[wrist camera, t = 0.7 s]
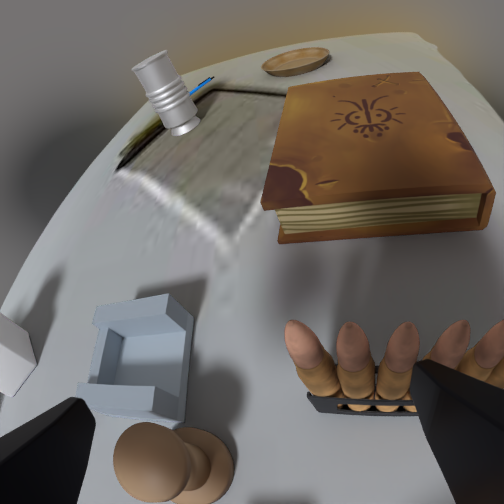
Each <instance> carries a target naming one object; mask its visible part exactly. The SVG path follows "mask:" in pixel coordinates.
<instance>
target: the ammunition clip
mask: <svg viewBox="0 0 504 504" xmlns="http://www.w3.org/2000/svg"><path fill="white" fill-rule="evenodd" d="M469 340H470V325H469V323H468V321H467V320H460V321H457V322H455V323H454V324H452V325H451V326H450V327H449V328H447V329H446V330H445V331H444V332H443V334H442V335H441V336H440V337H439V339H438V340H437V342H436V344H435V346H433V348H432V350H431V351H430V352H429V353H428V354H427V355H426V356H425V357H424V358H423V360H424V359H430V360H433V361H435V362H438V363H440V364H442V365H445V366H447V367H450V368H452V369H454V370H457V371H459V372H462V373H464V374H467V375H469V376H471V377H474V378H476V379H479V380H481V381H484V382H486V383H489V384H491V385H494V386H496V387H499V388H501V389H504V320H502V321H500V322H499V323H497V324H496V325H495V326H493V327H492V328H491V329H490V330H489V331H488V332H487V333H486V334H485V335H484V336H483V338H482V339H481V340H480V341H479V342H478V343H477V344H476V345H475V346H474V347H473V348H471V349H469V350H468V351H467V352H466V349H467V347H468V344H469ZM285 343H286V346H287V349H288V351H289V354H290V356H291V358H292V359H293V361H294V364H295V366H296V371H297V373H298V376H299V378H300V379H301V380H302V382H303V383H304V384H305V386H306V387H307V388H308V389H309V391H310V392H311V393H312V394H313V396H312V395H311V393H310V392H307V398H308V399H309V400H310V402H311V403H312V404H313V406H314V407H315V408H316V410H317V411H318V412H321V413H333V414H346V415H365V416H418V413H417V411H416V408H415V405H414V402H413V400H412V397H411V394H410V381H411V375H412V368H413V365H414V363H416V360H417V356H418V352H419V344H420V341H419V335H418V331H417V328H416V327H415V325H414V324H413V323H411V322H404V323H402V324H401V325H400V326H399V327H398V328H397V329H396V330H395V331H394V333H393V334H392V336H391V338H390V340H389V342H388V345H387V349H386V352H385V356H384V358H383V359H382V361H381V362H380V365H379V366H375V362H374V360H373V358H372V356H371V352H370V348H369V342H368V339H367V337H366V335H365V333H364V331H363V330H362V329H361V328H360V327H359V326H358V325H357V324H356V323H354V322H346V323H345V324H344V325H343V326H342V327H341V329H340V331H339V334H338V337H337V342H336V348H337V357H338V365H336V364H335V363H334V361H333V359H332V356H331V355H330V354H329V353H328V352H327V351H326V350H325V349H324V347H323V346H322V345H321V343H320V341H319V339H318V337H317V336H316V335H315V333H314V332H313V331H312V330H311V329H310V328H309V327H307V326H306V325H305V324H303V323H302V322H299V321H297V320H290V321H288V322H287V324H286V327H285ZM465 352H466V353H465ZM375 373H378V376H377V384H375Z"/></svg>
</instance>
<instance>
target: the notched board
mask: <svg viewBox="0 0 504 504" xmlns="http://www.w3.org/2000/svg"><path fill="white" fill-rule="evenodd" d="M193 323H194V317H193V316H192V315H191V314H190V313H189V312H188V311H187V310H185V309H184V308H183V307H182V306H181V305H180V304H179V303H178V302H177V301H176V300H175V299H174V298H173V297H172V296H171V295H170V294H169V293H168V294H163V295H157V296H152V297H146V298H141V299H135V300H130V301H124V302H118V303H113V304H107V305H101V306H97V307H96V310H95V314H94V317H93V321H92V324H93V325H95V326H96V327H97V328H99V332H98V336H97V340H96V344H95V349H94V353H93V358H92V362H91V367H90V372H89V377H88V382H87V383H78V385H77V390H76V396H75V397H78V398H82V399H83V400H85V402H86V404H87V406H88V407H89V409H91V410H94V411H97V412H99V413H102V414H105V415H107V416H114V417H122V418H131V419H140V420H151V421H165V422H184V421H185V407H186V395H187V383H188V372H189V361H190V351H191V341H192V332H193Z"/></svg>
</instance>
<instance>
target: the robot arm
mask: <svg viewBox="0 0 504 504" xmlns="http://www.w3.org/2000/svg"><path fill="white" fill-rule="evenodd" d="M410 394H411V397H412V400H413V402H414V405H415V408H416V411H417V413H418V416H419V419H420V422H421V425H422V428H423V431H424V433H425V436H426V439H427V441H428V443H429V445H430V447H431V450H432V452H433V454H434V456H435V458H436V460H437V462H438V464H439V466H440V469H441V471H442V473H443V475H444V477H445V480H446V482H447V484H448V486H449V489H450V491H451V493H452V495H453V498H454V500H455V502H456V504H504V389H501V388H499V387H496V386H494V385H491V384H489V383H486V382H484V381H481V380H479V379H476V378H474V377H471V376H469V375H467V374H464V373H462V372H459V371H457V370H454V369H452V368H450V367H447V366H445V365H442V364H440V363H438V362H435V361H433V360H430V359H424V360H421V361H418V362H416V363H414V365H413V368H412V375H411V381H410ZM95 426H96V422H95V418H94V416H93V414H92V413H91V411H90V409H89V407H88V406H87V404H86V402H85V400H83V399H82V398H78V397H70V398H68V399H66V400H64V401H63V402H61V403H59V404H58V405H56V406H54V407H53V408H51V409H49V410H48V411H46V412H44V413H42V414H41V415H39V416H37V417H36V418H34V419H32V420H30V421H29V422H27V423H25V424H23V425H22V426H20V427H18V428H16V429H15V430H13V431H11V432H9V433H8V434H6V435H4V436H2V437H0V504H77V501H78V497H79V494H80V490H81V487H82V483H83V480H84V476H85V473H86V469H87V465H88V461H89V455H90V450H91V445H92V440H93V436H94V431H95Z"/></svg>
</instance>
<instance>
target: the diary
mask: <svg viewBox="0 0 504 504" xmlns="http://www.w3.org/2000/svg"><path fill="white" fill-rule="evenodd" d="M495 195H496V192H495V190H494V188H493V186H492V183H491V181H490V179H489V177H488V175H487V174H486V172H485V170H484V168H483V166H482V164H481V162H480V160H479V159H478V157H477V155H476V153H475V151H474V150H473V148H472V146H471V145H470V143H469V141H468V139H467V138H466V136H465V135H464V133H463V131H462V130H461V128H460V127H459V125H458V123H457V122H456V120H455V119H454V117H453V116H452V114H451V113H450V111H449V110H448V108H447V107H446V105H445V104H444V103H443V101H442V100H441V98H440V97H439V96H438V94H437V93H436V92H435V90H434V89H433V88H432V86H431V85H430V84H429V82H428V81H427V80H426V78H425V77H424V76H423V75H422V74H421V73H419V72H404V73H388V74H376V75H366V76H356V77H348V78H340V79H333V80H326V81H320V82H314V83H308V84H302V85H297V86H292V87H289V88H288V92H287V96H286V100H285V104H284V108H283V112H282V116H281V120H280V124H279V128H278V132H277V136H276V141H275V145H274V149H273V153H272V157H271V161H270V165H269V169H268V173H267V177H266V181H265V185H264V190H263V194H262V198H261V202H260V203H261V205H262V207H263V209H264V211H266V210H274V209H275V211H276V214H277V216H278V219H279V221H280V229H279V235H278V243H279V244H288V243H302V242H315V241H329V240H343V239H356V238H370V237H385V236H399V235H413V234H428V233H443V232H457V231H473V230H483V229H484V228H485V227H487V225H488V222H489V218H490V214H491V211H492V207H493V203H494V199H495Z"/></svg>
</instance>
